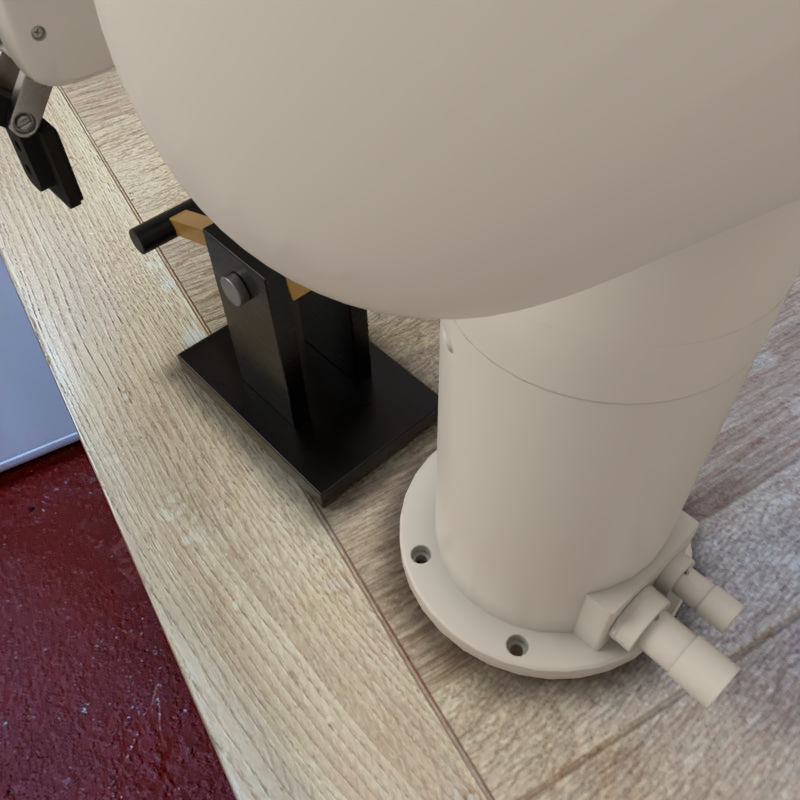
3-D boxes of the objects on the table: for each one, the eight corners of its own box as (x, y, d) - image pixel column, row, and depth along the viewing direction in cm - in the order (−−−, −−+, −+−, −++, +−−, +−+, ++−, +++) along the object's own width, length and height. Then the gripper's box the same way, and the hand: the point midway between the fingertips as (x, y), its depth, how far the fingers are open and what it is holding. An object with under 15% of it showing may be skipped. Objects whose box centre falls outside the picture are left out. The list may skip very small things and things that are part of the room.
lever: (140, 260, 42) (120, 219, 41) (218, 218, 44) (201, 178, 43) (266, 318, 33) (245, 267, 32) (357, 262, 35) (341, 212, 34)
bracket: (181, 369, 42) (122, 203, 34) (298, 297, 46) (271, 130, 37) (323, 509, 37) (294, 351, 28) (445, 415, 40) (451, 249, 32)
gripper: (-226, -225, 21) (24, 271, 34) (300, -327, 28) (334, 115, 41) (-305, -277, 24) (-50, 191, 37) (181, -356, 31) (249, 60, 45)
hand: (151, 151), depth 39 cm, fingers open, 9 cm apart
